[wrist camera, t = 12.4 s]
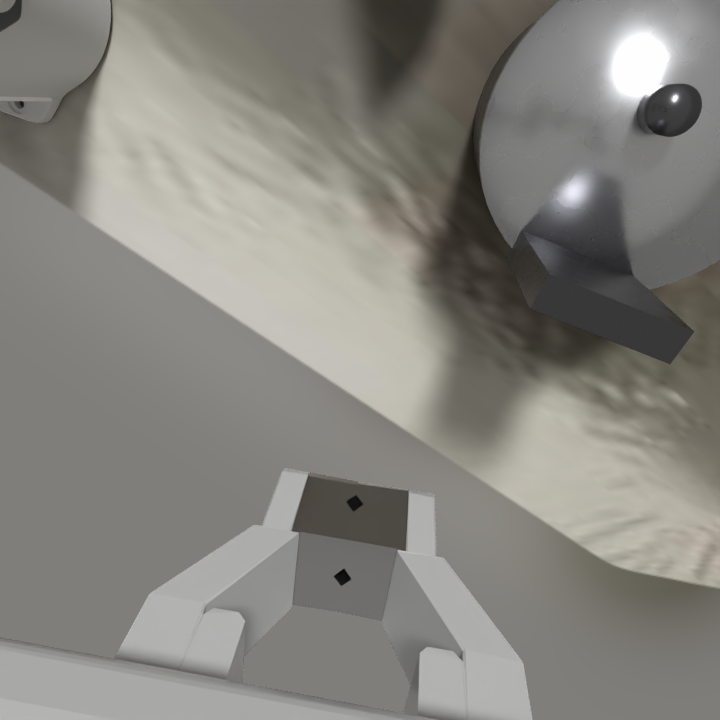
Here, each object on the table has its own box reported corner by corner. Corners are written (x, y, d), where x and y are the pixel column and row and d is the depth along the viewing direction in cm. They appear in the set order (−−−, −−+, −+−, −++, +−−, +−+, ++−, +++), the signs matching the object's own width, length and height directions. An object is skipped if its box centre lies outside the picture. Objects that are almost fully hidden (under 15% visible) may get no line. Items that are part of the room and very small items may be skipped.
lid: (432, 227, 37) (434, 275, 27) (575, -103, 28) (647, -194, 19) (675, 324, 38) (755, 402, 29) (883, 36, 29) (1091, 14, 20)
